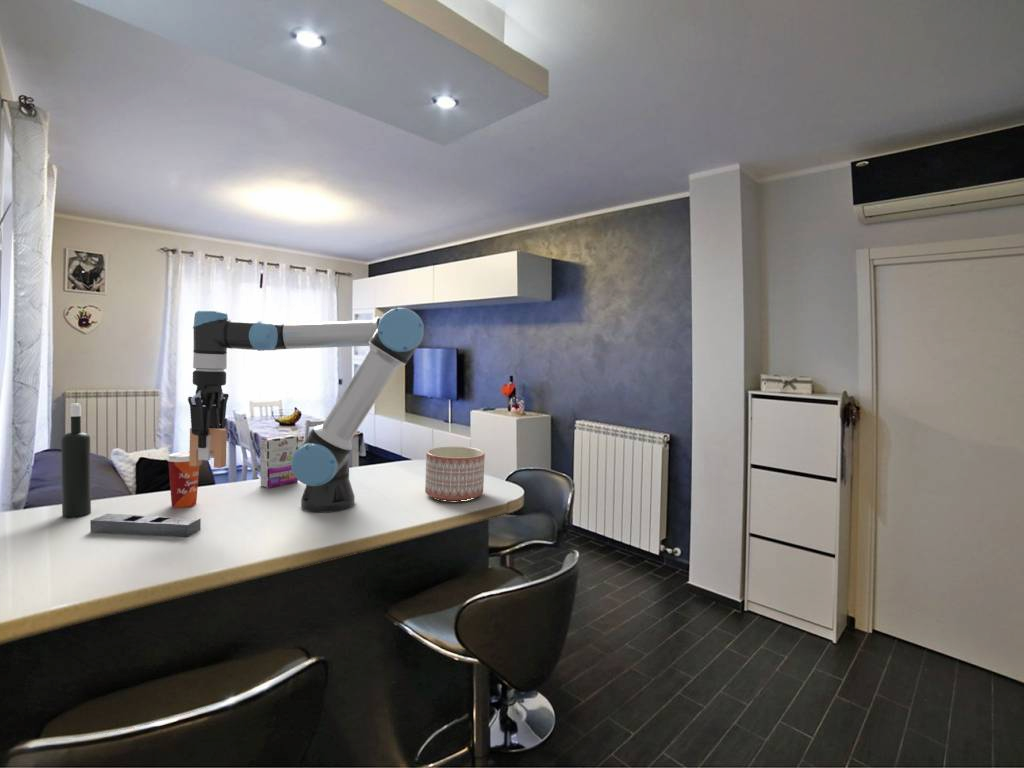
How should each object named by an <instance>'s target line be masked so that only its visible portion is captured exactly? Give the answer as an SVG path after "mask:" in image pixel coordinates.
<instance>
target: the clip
mask: <svg viewBox="0 0 1024 768" xmlns="http://www.w3.org/2000/svg"><path fill="white" fill-rule="evenodd" d="M227 433H228V429H227V428H224V429H219V428H209V432H208V435H211V441H210V450H212V451H214V458H213V468H214V469H215V468H216V469H222V468H224V467H226V466H227V443H228V442H227V439H228V434H227ZM189 452H190V454H189V466H199V467H200V466H201V465H203V460H198V435H194V434H192V429H191V427H190V428H189Z"/></svg>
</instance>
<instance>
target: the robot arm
mask: <svg viewBox="0 0 1024 768" xmlns="http://www.w3.org/2000/svg"><path fill="white" fill-rule="evenodd" d="M193 319H194V320H193V326H192V329H193V351H192V352H193V359H192V360H193V361H192V367H193V369H195V370H193V371H192V384H193V385H195V386H196V389H195V394H194V395H193V396H188V398H187V402H188V404H189V408H190V409H189V411H190V412H189V413H190V428H191V429H192V434H194V435H198V460H202V461H210V460H211V459H214V451H212V450H210V441H211V435H208V432H209V428H219V429H225V424H226V415H227V404H228V400H229V394H228V393H224V392H223V389H222V386H224V385H226V383H227V372H226V371H225V370H226V369H227V367H228V366H227V364H228V363H227V361H228V360H227V359H228V358H227V357H228V352H227V350H228V349H236V350H237V349H238V350H248V351H249V350H250V351H251V350H252V351H259V352H260V351H261V352H262V351H263V352H264V351H276V350H294V349H299V350H301V349H319V348H320V349H323V348H347V347H349V348H351V347H369V352H368V353H367V355H366V356H365V357H364V359H363V361H362V362H361V364H360V365H359V367H358V368H357V370H356V371H355V373H354V375H353V376H352V378H351V380H350V381H349V382H348V384H347V385H346V387H345V389H344V391H343V392H342V393H341V395H340V397H339V398H338V400H337V402H336V403H335V405H334V406H333V407H332V409H331V411H330V412H329V414H328V415H327V416H326V418H325V420H324V422H323V423H322V424H319V425H316V426H314V427H313V428H312V429H310V430H309V432H308V435H307V438H306V439H305V440H304V442H303V444H302V445H301V446H299V447H298V449H297V450H296V451H295V453H294V455H293V457H292V460H291V469H292V472H293V474H294V476H295V477H296V478H297V479H298V481H299V482H300V483H302V484H304V485H305V488H304V491H303V494H302V496H301V501H300V502H301V503H300V507H301V509H302V510H305V511H307V512H312V513H332V512H333V513H334V512H339V511H344V510H347V509H349V508H352V507H354V505H355V501H356V500H355V493H354V490H353V487H352V484H351V481H350V458H351V457H350V452H351V451H352V449H353V443H352V440H353V437H354V436H355V435H356V433H357V431H358V429H360V427H361V425H362V424H363V422H364V421H365V419H366V417H367V416H368V414H369V412H370V411H371V410H372V407H373V406H374V405H375V403H376V401H377V400H378V398H379V397H380V396H381V394H382V393H383V390H385V387H387V384H388V383H389V381H390V380H391V378H392V377H393V375H394V373H395V372H396V370H397V368H398V367H402V366H406V365H407V364H408V362H409V360H410V358H411V357H412V356H413V354H414V353H415V351H416V350H417V348H418V347H419V346H420V345H421V343H423V340H424V338H425V333H426V331H425V325H424V322H423V319H422V318H421V317H420V315H419V314H418V313H416V312H415V311H414V310H411V309H410V308H406V307H395V308H391V309H390V310H388V311H386V313H384V314H383V315H382V316H376V317H375V318H374V319H371V320H370V319H369V320H347V321H345V320H344V321H343V320H342V321H341V320H340V321H322V322H318V321H317V322H316V321H315V322H313V321H312V322H311V321H310V322H289V323H288V322H287V323H286V322H284V323H272V322H267V321H262V320H261V321H259V320H258V321H257V320H256V321H255V320H253V321H252V320H235V319H234V320H233V319H229V317H228V314H227V312H225V311H224V312H223V311H217V310H205V309H204V310H203V309H202V310H197V311H195V312H194V318H193Z"/></svg>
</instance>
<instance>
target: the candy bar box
mask: <svg viewBox="0 0 1024 768" xmlns="http://www.w3.org/2000/svg"><path fill="white" fill-rule="evenodd" d="M298 436H299V435H296V434H295V435H294V434H283V435H277V436H271V437H270V436H269V437H264V438H263V437H261V438H260V439H259V441H260V446H259V447H260V448H259V449H260V454H259V455H260V486H261V487H262V488H263V487H264V488H267V489H271V488H276V487H280V486H285V485H288V484H293V483H298V481H299V480H298V479H297V478H296V477H295V476H294V474H293V472H292V469H291V460H292V457H293V455H294V453H295V451H296V450H297V449H298V448H299V447H298V446H299V442H298V440H299V439H298V438H299V437H298Z"/></svg>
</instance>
